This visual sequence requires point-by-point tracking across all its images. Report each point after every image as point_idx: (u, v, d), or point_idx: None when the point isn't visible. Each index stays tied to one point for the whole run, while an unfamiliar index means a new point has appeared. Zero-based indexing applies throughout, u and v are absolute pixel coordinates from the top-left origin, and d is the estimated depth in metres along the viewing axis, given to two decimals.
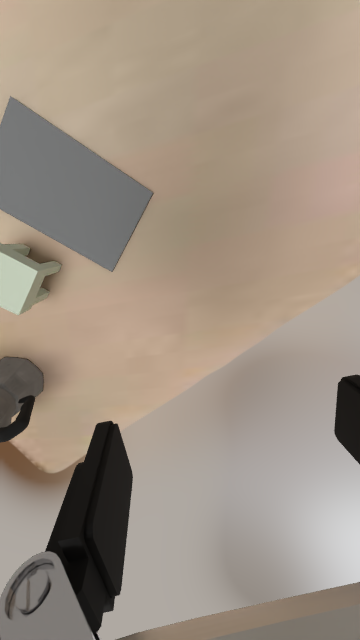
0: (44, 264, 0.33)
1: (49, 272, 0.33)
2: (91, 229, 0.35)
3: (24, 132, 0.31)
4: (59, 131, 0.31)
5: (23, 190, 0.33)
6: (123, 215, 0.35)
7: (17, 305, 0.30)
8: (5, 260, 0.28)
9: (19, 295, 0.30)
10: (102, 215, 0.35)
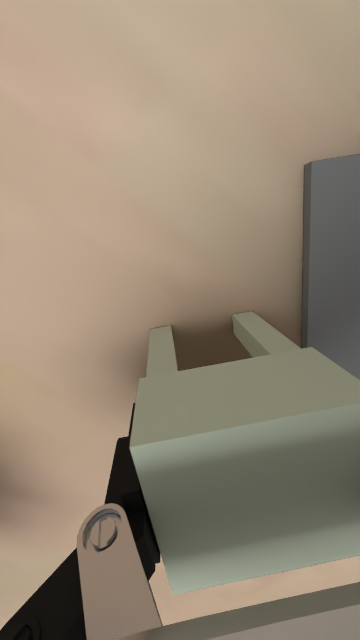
0: None
1: None
2: None
3: None
4: None
5: None
6: None
7: (205, 578, 0.08)
8: (350, 483, 0.07)
9: (246, 565, 0.08)
10: None
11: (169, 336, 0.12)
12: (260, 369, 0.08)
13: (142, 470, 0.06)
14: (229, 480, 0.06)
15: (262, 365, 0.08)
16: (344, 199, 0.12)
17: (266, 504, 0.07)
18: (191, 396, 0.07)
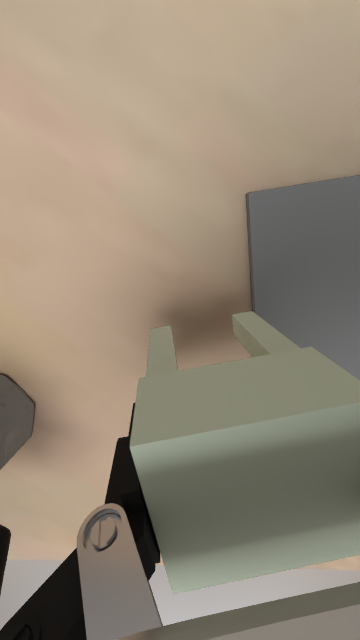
0: None
1: None
2: None
3: None
4: None
5: (298, 253, 0.19)
6: None
7: (205, 577, 0.08)
8: (350, 482, 0.07)
9: (245, 564, 0.08)
10: None
11: (169, 336, 0.12)
12: (259, 369, 0.08)
13: (142, 469, 0.06)
14: (229, 479, 0.06)
15: (262, 365, 0.08)
16: (272, 216, 0.18)
17: (265, 504, 0.07)
18: (191, 396, 0.07)
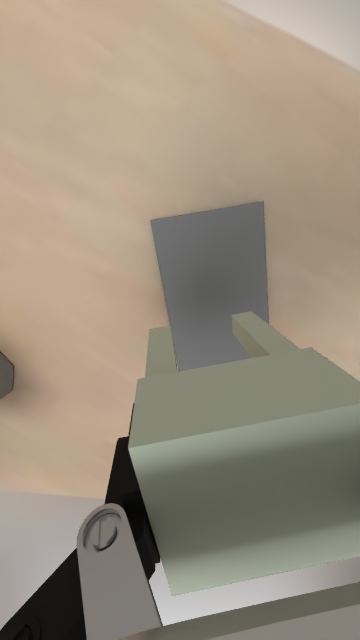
0: None
1: None
2: (203, 334, 0.32)
3: (242, 230, 0.28)
4: (264, 258, 0.29)
5: (191, 259, 0.28)
6: (235, 349, 0.33)
7: (204, 579, 0.08)
8: (349, 484, 0.07)
9: (245, 566, 0.08)
10: (222, 334, 0.32)
11: (168, 336, 0.12)
12: (259, 370, 0.08)
13: (141, 471, 0.06)
14: (228, 480, 0.06)
15: (261, 366, 0.08)
16: (169, 235, 0.27)
17: (265, 505, 0.07)
18: (190, 397, 0.07)
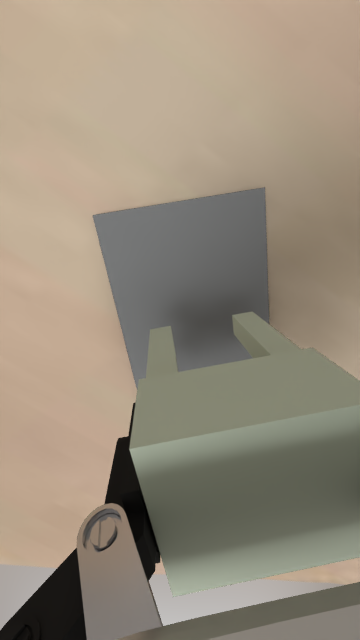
0: None
1: None
2: None
3: (232, 231, 0.19)
4: (265, 272, 0.20)
5: (156, 273, 0.19)
6: None
7: (206, 579, 0.08)
8: (351, 485, 0.07)
9: (246, 566, 0.08)
10: None
11: (169, 337, 0.12)
12: (260, 370, 0.08)
13: (142, 472, 0.06)
14: (230, 481, 0.06)
15: (262, 366, 0.08)
16: (121, 237, 0.18)
17: (266, 506, 0.07)
18: (191, 397, 0.07)
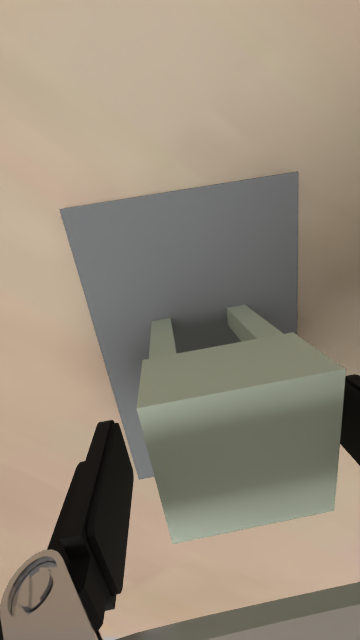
0: None
1: None
2: None
3: (252, 231, 0.14)
4: (295, 286, 0.15)
5: (150, 288, 0.14)
6: None
7: (200, 528, 0.09)
8: (321, 443, 0.08)
9: (235, 517, 0.09)
10: None
11: (169, 326, 0.14)
12: (246, 350, 0.09)
13: (147, 428, 0.07)
14: (219, 438, 0.08)
15: (249, 347, 0.09)
16: (101, 240, 0.13)
17: (250, 461, 0.08)
18: (187, 371, 0.08)
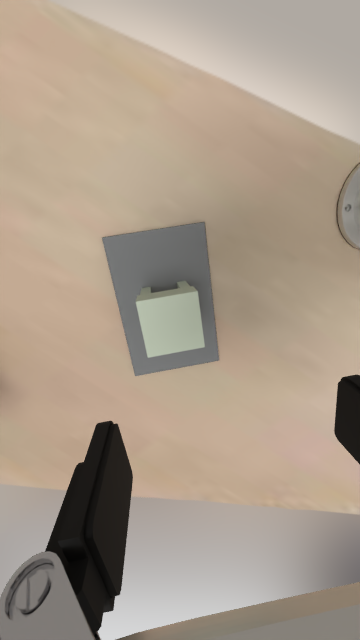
0: None
1: None
2: None
3: (186, 247, 0.31)
4: (208, 272, 0.32)
5: (140, 272, 0.32)
6: (186, 353, 0.36)
7: (157, 351, 0.26)
8: (194, 317, 0.25)
9: (169, 347, 0.26)
10: None
11: (149, 289, 0.31)
12: (173, 290, 0.26)
13: (138, 309, 0.24)
14: (161, 314, 0.25)
15: (175, 290, 0.27)
16: (119, 250, 0.30)
17: (172, 323, 0.25)
18: (152, 295, 0.26)
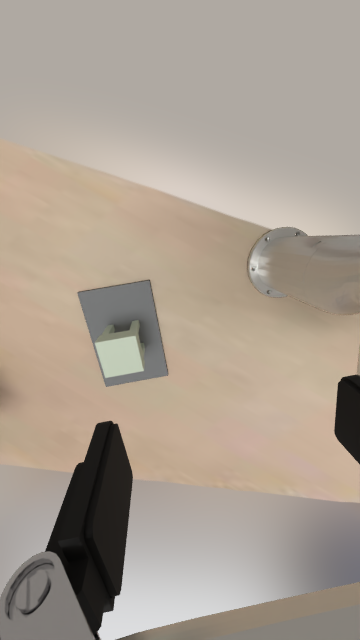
0: (142, 353, 0.43)
1: None
2: None
3: (137, 297, 0.44)
4: (155, 313, 0.45)
5: (105, 314, 0.45)
6: None
7: (111, 373, 0.39)
8: (135, 352, 0.38)
9: (119, 371, 0.39)
10: None
11: (111, 327, 0.44)
12: (122, 333, 0.39)
13: (97, 347, 0.37)
14: (112, 350, 0.38)
15: (124, 332, 0.40)
16: (90, 301, 0.43)
17: (120, 356, 0.38)
18: (107, 337, 0.39)
